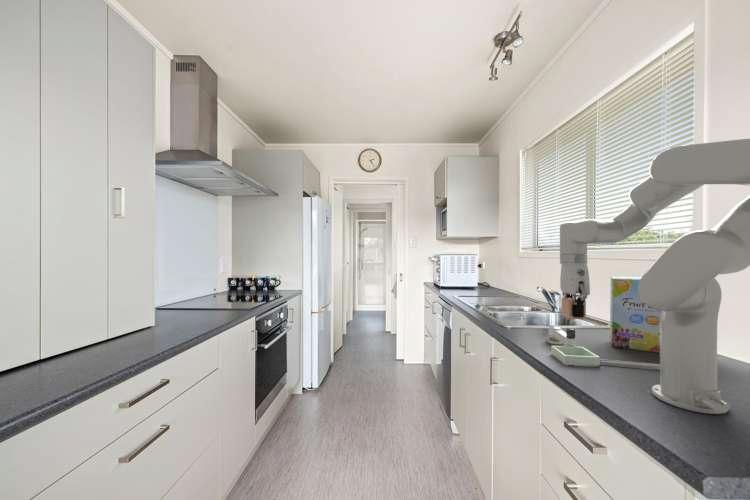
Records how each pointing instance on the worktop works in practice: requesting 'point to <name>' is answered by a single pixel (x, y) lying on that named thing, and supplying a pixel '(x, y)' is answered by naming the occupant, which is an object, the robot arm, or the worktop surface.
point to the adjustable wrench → (630, 364)
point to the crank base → (554, 342)
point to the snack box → (632, 317)
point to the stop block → (570, 308)
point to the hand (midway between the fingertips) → (573, 314)
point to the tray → (575, 356)
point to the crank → (562, 335)
